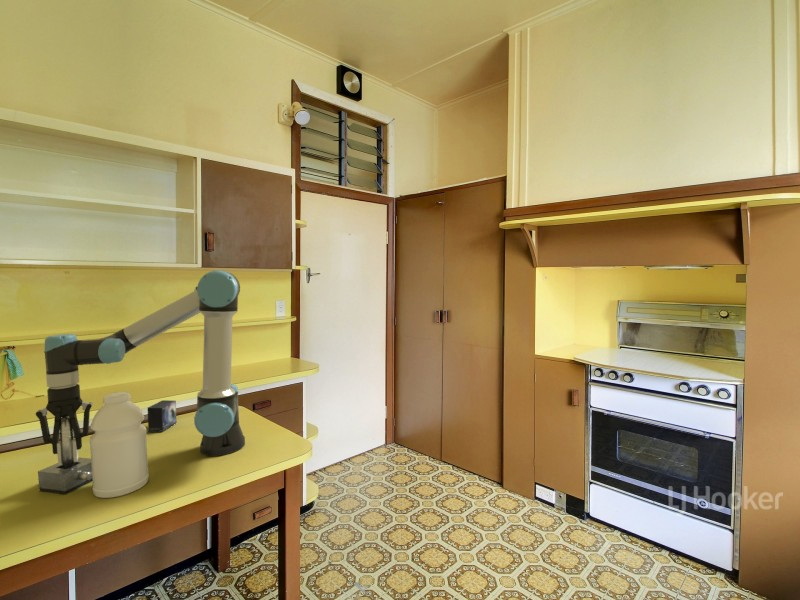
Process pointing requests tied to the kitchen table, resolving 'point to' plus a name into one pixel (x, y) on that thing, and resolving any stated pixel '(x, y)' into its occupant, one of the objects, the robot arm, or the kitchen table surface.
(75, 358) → the robot arm
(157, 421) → the small box
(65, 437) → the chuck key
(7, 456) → the kitchen table surface
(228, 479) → the kitchen table surface
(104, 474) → the bottle
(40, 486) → the block
